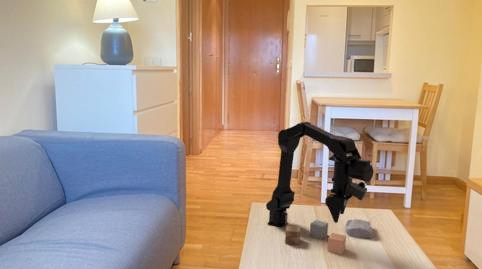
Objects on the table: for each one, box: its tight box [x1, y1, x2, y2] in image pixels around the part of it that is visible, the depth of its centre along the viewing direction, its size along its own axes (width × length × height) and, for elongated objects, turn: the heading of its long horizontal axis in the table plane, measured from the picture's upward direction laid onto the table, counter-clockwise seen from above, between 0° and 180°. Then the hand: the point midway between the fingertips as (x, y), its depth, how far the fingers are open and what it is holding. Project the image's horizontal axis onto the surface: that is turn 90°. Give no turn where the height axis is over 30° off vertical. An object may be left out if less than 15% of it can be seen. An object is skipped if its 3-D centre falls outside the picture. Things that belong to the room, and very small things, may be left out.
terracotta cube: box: [327, 232, 347, 255], centre depth 144 cm, size 5×5×5 cm
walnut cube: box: [284, 225, 301, 246], centre depth 150 cm, size 5×5×5 cm
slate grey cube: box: [309, 219, 329, 240], centre depth 156 cm, size 5×5×5 cm
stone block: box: [344, 218, 373, 240], centre depth 161 cm, size 12×5×10 cm
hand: (338, 218), depth 143 cm, fingers open, 9 cm apart
